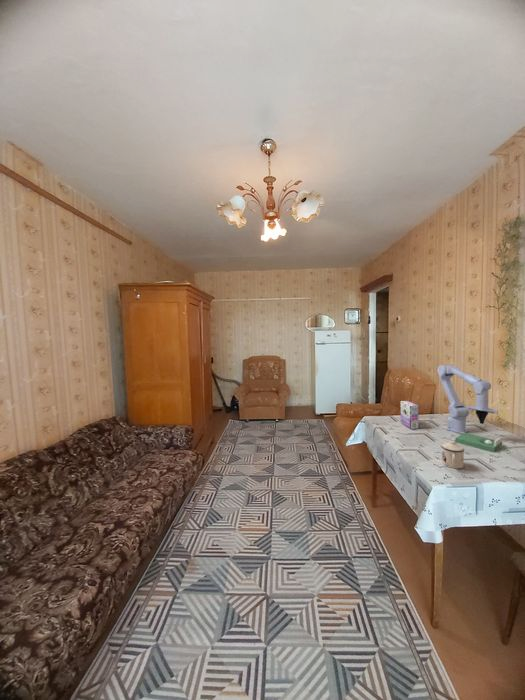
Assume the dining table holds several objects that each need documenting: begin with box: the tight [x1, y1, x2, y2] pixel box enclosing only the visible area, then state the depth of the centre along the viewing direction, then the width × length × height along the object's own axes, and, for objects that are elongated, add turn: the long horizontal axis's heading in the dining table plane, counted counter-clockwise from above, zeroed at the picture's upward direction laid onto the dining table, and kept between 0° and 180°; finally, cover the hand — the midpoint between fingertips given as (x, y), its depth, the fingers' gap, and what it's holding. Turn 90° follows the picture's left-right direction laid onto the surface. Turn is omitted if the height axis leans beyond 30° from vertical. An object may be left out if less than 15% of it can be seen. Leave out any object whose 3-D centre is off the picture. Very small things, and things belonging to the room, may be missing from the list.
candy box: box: [399, 400, 420, 430], centre depth 191 cm, size 14×6×16 cm, turn 179°
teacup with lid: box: [441, 440, 465, 469], centre depth 133 cm, size 12×9×12 cm
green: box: [454, 432, 503, 453], centre depth 157 cm, size 18×14×5 cm
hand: (481, 423), depth 163 cm, fingers closed
